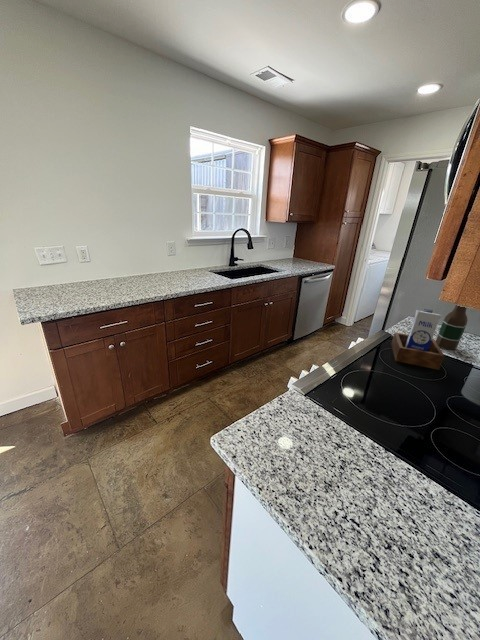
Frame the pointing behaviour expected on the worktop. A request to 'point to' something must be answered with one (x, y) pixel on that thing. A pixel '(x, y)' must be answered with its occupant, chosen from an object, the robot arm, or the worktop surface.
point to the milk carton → (422, 330)
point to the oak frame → (416, 353)
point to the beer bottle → (452, 328)
